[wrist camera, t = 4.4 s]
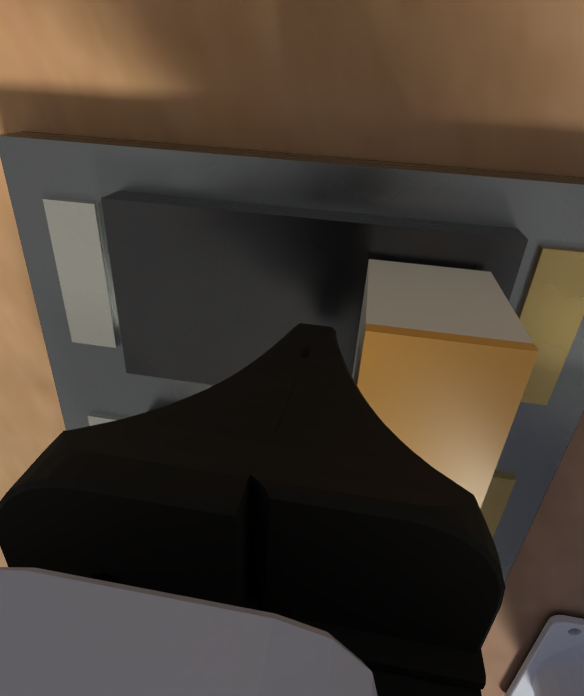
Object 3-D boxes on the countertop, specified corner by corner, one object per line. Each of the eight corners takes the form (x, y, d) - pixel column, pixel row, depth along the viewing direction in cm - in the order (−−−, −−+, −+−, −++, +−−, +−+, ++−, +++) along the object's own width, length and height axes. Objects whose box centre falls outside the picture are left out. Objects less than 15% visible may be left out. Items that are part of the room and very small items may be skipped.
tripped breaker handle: (490, 271, 12) (539, 352, 8) (453, 402, 14) (479, 511, 10) (368, 259, 12) (365, 330, 8) (350, 388, 14) (341, 489, 10)
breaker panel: (658, 184, 12) (893, 269, 7) (451, 664, 24) (473, 839, 19) (23, 131, 14) (-207, 163, 9) (122, 600, 26) (53, 741, 21)
